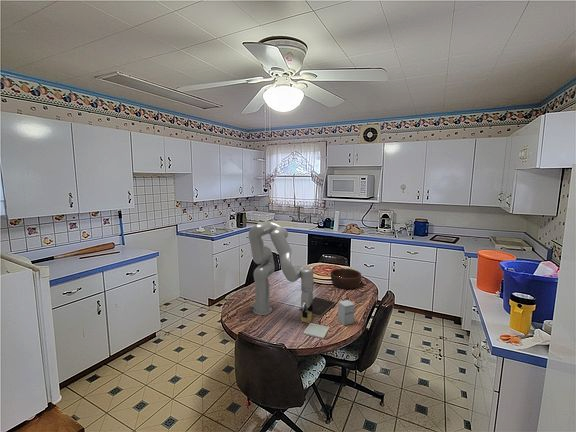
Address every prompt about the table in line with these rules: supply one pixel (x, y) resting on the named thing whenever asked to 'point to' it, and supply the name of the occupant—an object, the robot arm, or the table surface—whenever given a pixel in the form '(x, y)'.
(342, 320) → the supplement box
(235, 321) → the table surface
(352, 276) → the wooden bowl
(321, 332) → the mat
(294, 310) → the table surface
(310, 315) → the ochre cube
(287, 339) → the table surface
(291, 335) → the table surface
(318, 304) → the hardcover book
